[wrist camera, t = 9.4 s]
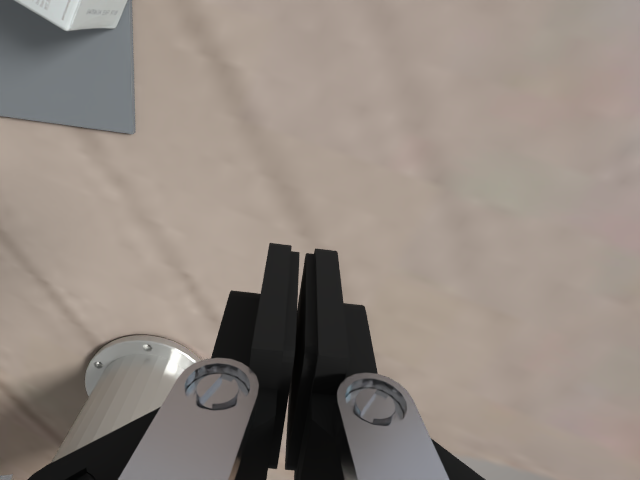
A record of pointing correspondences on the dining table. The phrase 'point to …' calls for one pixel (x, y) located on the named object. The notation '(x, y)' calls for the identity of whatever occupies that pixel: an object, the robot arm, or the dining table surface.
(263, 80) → the dining table surface
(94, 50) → the charcoal mat
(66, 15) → the supplement box
